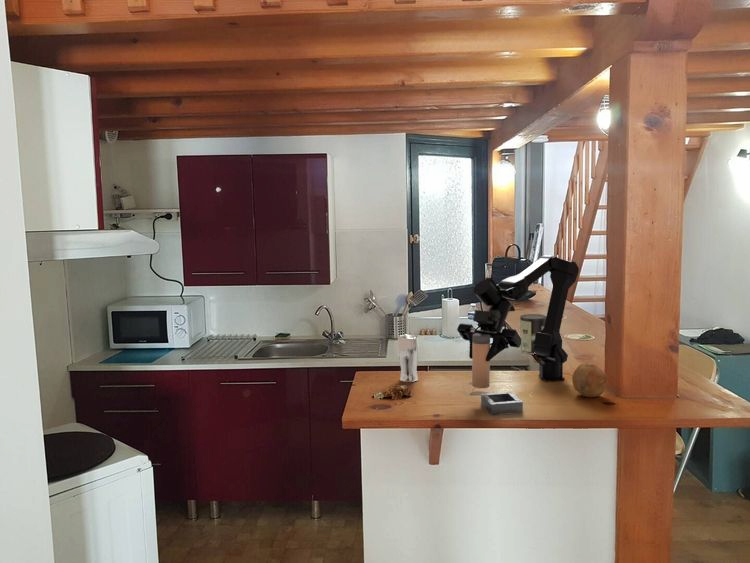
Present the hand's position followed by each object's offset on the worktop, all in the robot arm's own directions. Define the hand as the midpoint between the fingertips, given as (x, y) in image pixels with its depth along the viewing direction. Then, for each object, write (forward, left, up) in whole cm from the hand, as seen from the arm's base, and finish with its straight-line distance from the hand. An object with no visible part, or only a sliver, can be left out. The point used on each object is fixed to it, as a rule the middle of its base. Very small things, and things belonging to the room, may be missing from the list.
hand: (478, 359), depth 160 cm
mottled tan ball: (-34, 0, -14) cm, 37 cm away
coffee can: (-39, -52, -14) cm, 67 cm away
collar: (-5, +4, -14) cm, 15 cm away
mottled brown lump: (+23, -14, -14) cm, 31 cm away
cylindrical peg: (-1, -1, -8) cm, 8 cm away
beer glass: (+15, -29, -14) cm, 35 cm away
